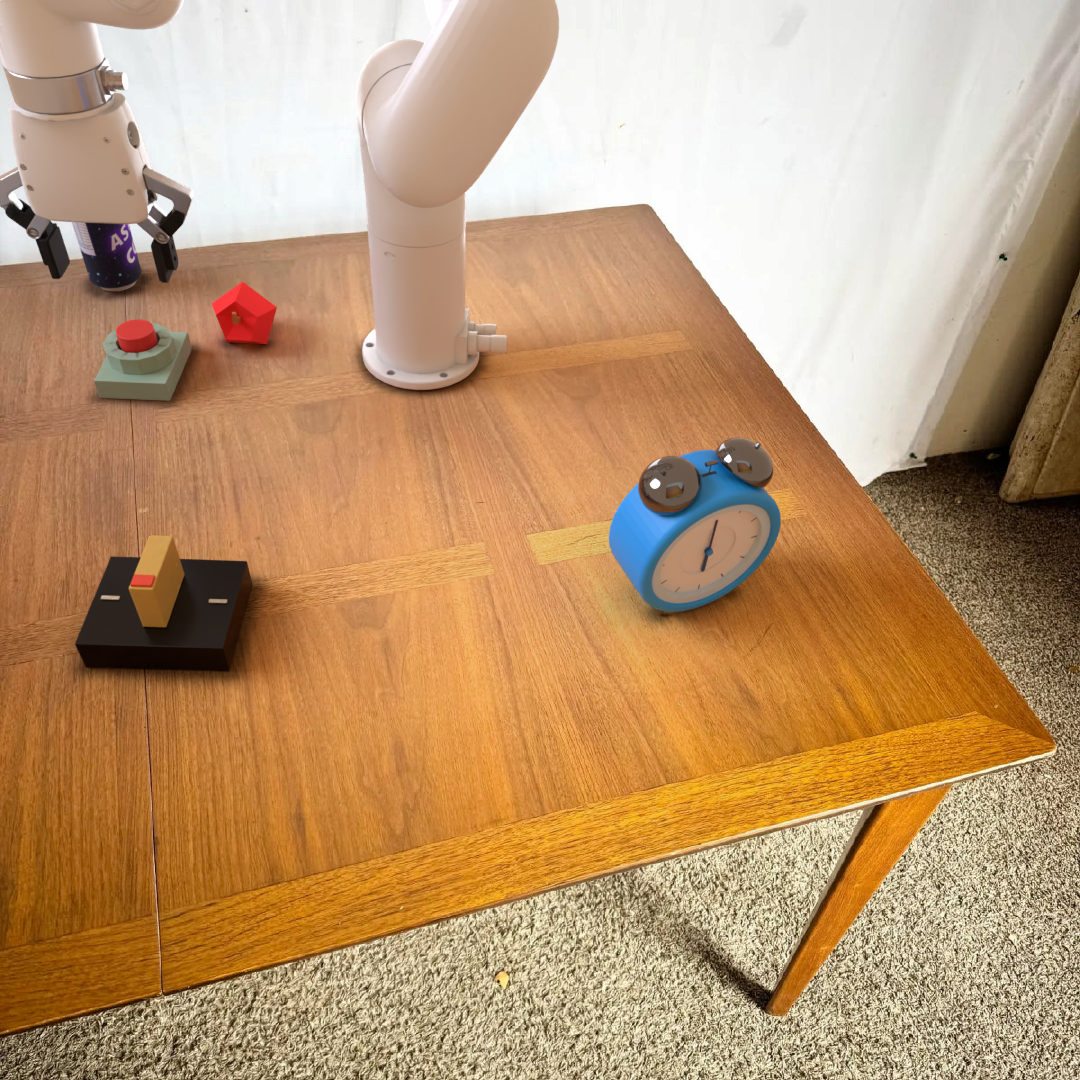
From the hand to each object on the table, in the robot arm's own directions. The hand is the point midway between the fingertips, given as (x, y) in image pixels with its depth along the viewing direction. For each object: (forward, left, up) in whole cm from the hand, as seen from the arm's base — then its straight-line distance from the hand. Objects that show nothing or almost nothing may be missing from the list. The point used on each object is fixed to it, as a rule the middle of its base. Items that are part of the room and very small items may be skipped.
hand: (115, 273), depth 90 cm
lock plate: (-11, +31, -13) cm, 36 cm away
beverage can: (+8, -19, -13) cm, 24 cm away
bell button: (0, -1, -9) cm, 9 cm away
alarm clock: (-53, +25, -13) cm, 60 cm away
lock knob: (-11, +32, -9) cm, 35 cm away
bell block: (0, -2, -13) cm, 13 cm away
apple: (-9, -9, -13) cm, 18 cm away
